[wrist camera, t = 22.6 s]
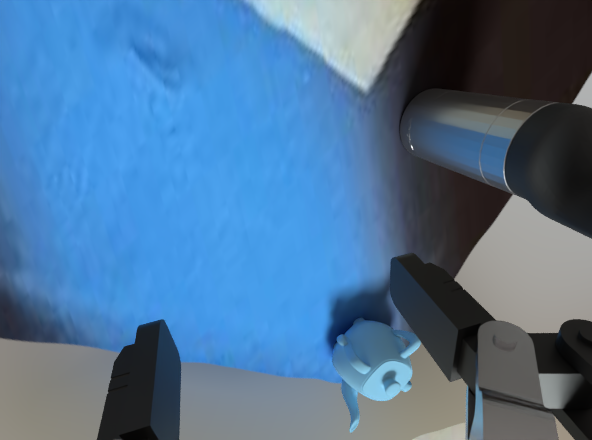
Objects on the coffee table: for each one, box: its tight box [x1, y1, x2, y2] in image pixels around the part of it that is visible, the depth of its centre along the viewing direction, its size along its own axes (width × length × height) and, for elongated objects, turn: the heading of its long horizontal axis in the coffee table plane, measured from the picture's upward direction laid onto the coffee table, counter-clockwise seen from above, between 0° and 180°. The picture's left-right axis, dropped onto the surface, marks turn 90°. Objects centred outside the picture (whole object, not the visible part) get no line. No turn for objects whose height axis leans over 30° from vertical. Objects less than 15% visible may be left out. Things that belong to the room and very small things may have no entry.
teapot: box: [332, 318, 421, 432], centre depth 58 cm, size 13×14×11 cm
